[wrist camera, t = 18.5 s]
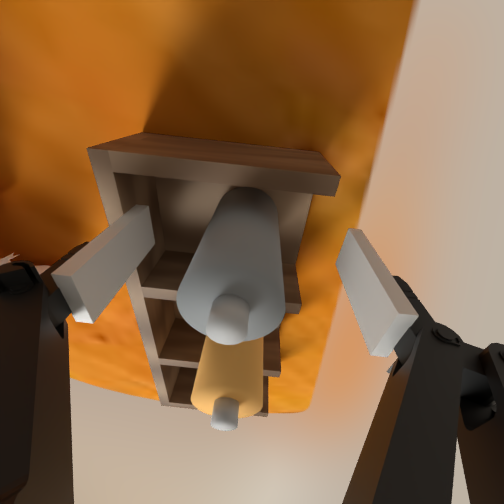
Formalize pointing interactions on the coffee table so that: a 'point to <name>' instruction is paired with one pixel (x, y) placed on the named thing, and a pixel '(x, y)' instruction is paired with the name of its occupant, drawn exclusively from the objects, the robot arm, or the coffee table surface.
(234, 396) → the yellow knobbed cylinder
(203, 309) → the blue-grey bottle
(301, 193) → the brown compartment tray
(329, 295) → the coffee table surface
